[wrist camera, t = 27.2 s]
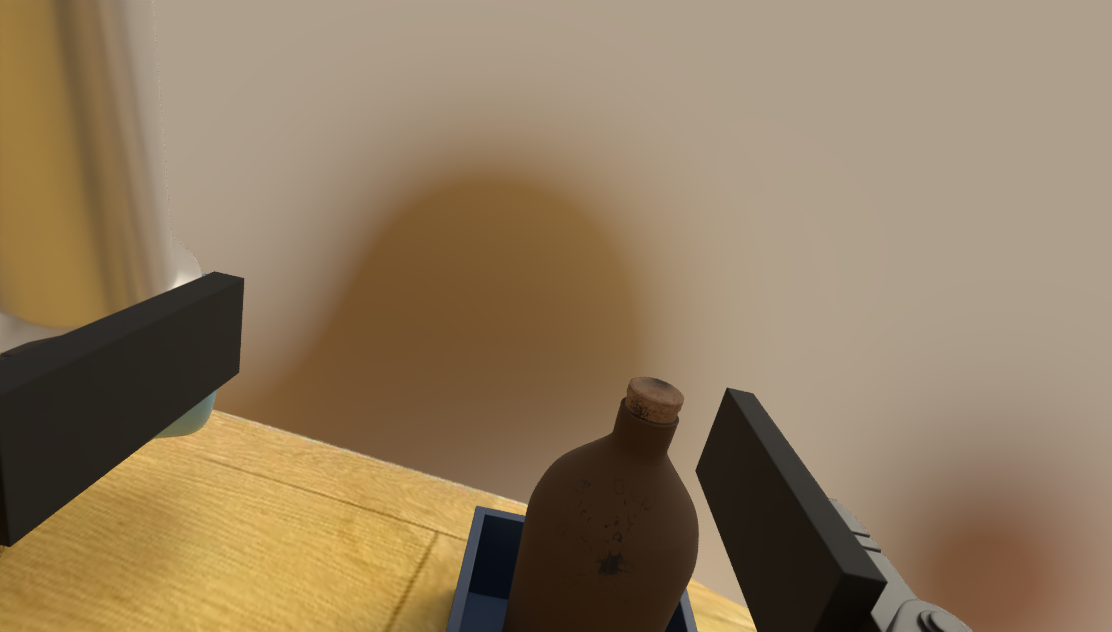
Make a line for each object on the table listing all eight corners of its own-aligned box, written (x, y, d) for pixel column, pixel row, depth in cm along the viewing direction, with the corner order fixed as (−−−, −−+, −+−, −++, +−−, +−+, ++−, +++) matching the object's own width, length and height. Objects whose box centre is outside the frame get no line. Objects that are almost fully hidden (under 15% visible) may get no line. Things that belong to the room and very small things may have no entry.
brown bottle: (653, 764, 36) (794, 443, 28) (501, 805, 32) (615, 443, 24) (590, 624, 46) (683, 353, 38) (465, 643, 41) (540, 341, 33)
